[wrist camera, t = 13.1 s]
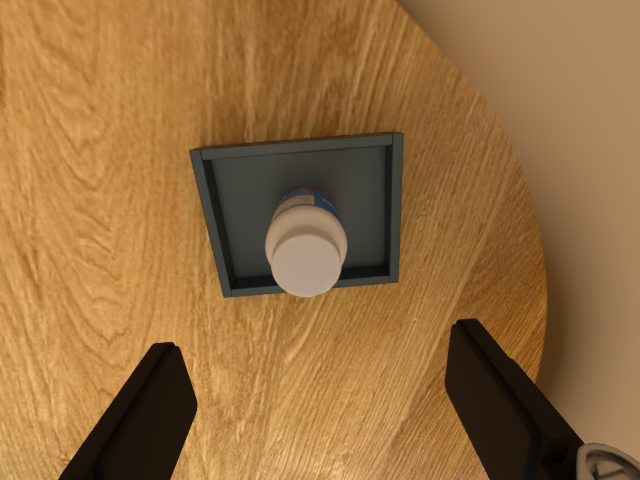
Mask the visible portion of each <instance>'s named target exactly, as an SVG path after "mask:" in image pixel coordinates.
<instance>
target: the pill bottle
mask: <svg viewBox="0 0 640 480" xmlns="http://www.w3.org/2000/svg"><path fill="white" fill-rule="evenodd" d="M265 250H266V256H267V259H268V261H269V263H270V265H271V269H272V274H273V277H274V279H275V281H276V282H277V284H278V285H279V286H280V287H281V288H282V289H283V290H285V291H286V292H288V293H290V294H292V295H296V296H300V297H313V296H317V295H320V294H322V293H324V292H326V291H328V290H329V289H330V288H331V287H332V286H333V285H334V284H335V283H336V281H337V280H338V278H339V276H340V273H341V266H342V264H343V262H344V260H345V257H346V252H347V239H346V234H345V231H344V228H343V226H342V223H341V220H340V217H339V215H338V212H337V209H336V207H335V205H334V203H333V201H332V200H331V199H330V198H329V197H328V196H327V195H326V194H325V193H323V192H322V191H320V190H317V189H314V188H298V189H295V190H292V191H291V192H289V193H287V194H286V195H285V196H284V197H283V198H282V199H281V200H280V202H279V203H278V205H277V207H276V210H275V213H274V215H273V218H272V221H271V224H270V227H269V230H268V233H267V237H266V242H265Z"/></svg>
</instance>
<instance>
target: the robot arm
mask: <svg viewBox="0 0 640 480" xmlns="http://www.w3.org/2000/svg"><path fill="white" fill-rule="evenodd" d="M445 388H446V392H447V394H448V396H449V398H450V400H451V402H452V404H453V406H454V408H455V410H456V412H457V414H458V416H459V418H460V420H461V422H462V424H463V426H464V428H465V430H466V433H467V435H468V437H469V439H470V441H471V443H472V445H473V447H474V449H475V451H476V453H477V455H478V457H479V459H480V461H481V463H482V465H483V467H484V469H485V471H486V473H487V475H488V477H489V479H490V480H640V463H639V462H638V461H636V460H635V459H633V458H632V457H631V456H629V455H627V454H625V453H624V452H622V451H620V450H618V449H616V448H613V447H610V446H607V445H605V444H599V443H588V444H584V442H583V441H582V440H581V439H580V438H579V436H578V435H577V434H576V433H575V432H574V430H573V429H572V428H571V427H570V426H569V424H568V423H567V422H566V421H565V420H564V419H563V417H561V415H560V414H559V413H558V411H557V410H556V409H555V408H554V407H553V405H552V404H551V403H550V402H549V401H548V400H547V398H546V397H545V396H544V395H543V394H542V392H541V391H540V390H539V389H538V388H537V387H536V385H535V384H534V383H533V382H532V380H531V379H530V378H529V377H528V376H527V375H526V373H525V372H524V371H523V370H522V369H521V367H520V366H519V365H518V364H517V363H516V362H515V361H514V360H513V359H511V358H509V357H508V356H507V355H506V353H505V352H504V351H503V350H502V349H501V347H500V346H499V345H498V344H497V342H496V341H495V340H494V339H493V338H492V336H491V335H490V334H489V333H488V332H487V330H486V329H485V328H484V327H483V326H482V324H481V323H480V322H479V321H478V320H477V319H475V318H473V319H460V320H457V321H456V324H453V325H452V327H451V334H450V342H449V350H448V358H447V367H446V375H445ZM196 412H197V399H196V396H195V393H194V390H193V387H192V384H191V381H190V378H189V375H188V372H187V369H186V365H185V362H184V359H183V356H182V353H181V350H180V348H179V347H178V346H175V344H174V343H173V342H165V343H155V344H153V345H152V346H151V347H150V348H149V350H148V351H147V353H146V354H145V356H144V357H143V358H142V360H141V361H140V363H139V364H138V366H137V367H136V368H135V370H134V371H133V373H132V374H131V376H130V377H129V378H128V380H127V381H126V383H125V384H124V386H123V387H122V388H121V390H120V391H119V393H118V394H117V396H116V397H115V398H114V400H113V401H112V403H111V404H110V406H109V407H108V408H107V410H106V411H105V413H104V414H103V416H102V417H101V418H100V420H99V421H98V423H97V424H96V426H95V427H94V428H93V430H92V431H91V433H90V434H89V436H88V437H87V438H86V440H85V441H84V443H83V444H82V446H81V447H80V448H79V450H78V451H77V453H76V454H75V456H74V457H73V458H72V460H71V461H70V463H69V464H68V466H67V467H66V468H65V470H64V471H63V473H62V474H61V475H60V478H59V479H58V480H170V479H171V476H172V474H173V471H174V469H175V466H176V463H177V461H178V458H179V456H180V453H181V451H182V448H183V445H184V443H185V440H186V438H187V435H188V433H189V430H190V428H191V425H192V422H193V420H194V417H195V415H196Z"/></svg>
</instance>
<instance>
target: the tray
mask: <svg viewBox="0 0 640 480" xmlns="http://www.w3.org/2000/svg"><path fill="white" fill-rule="evenodd" d="M189 152H190V157H191V161H192V165H193V169H194V174H195V178H196V182H197V186H198V191H199V195H200V199H201V203H202V208H203V212H204V216H205V220H206V225H207V229H208V233H209V237H210V242H211V246H212V250H213V254H214V259H215V263H216V267H217V271H218V276H219V280H220V284H221V288H222V293H223V297H224V298H227V297H240V296H251V295H263V294H274V293H285V292H286V291H285V290H283V289H282V288H281V287H280V286H279V285H278V284H277V282H276V281H275V279H274V277H273V274H272V269H271V265H270V263H269V261H268V259H267V256H266V250H265V242H266V237H267V233H268V230H269V227H270V224H271V221H272V218H273V215H274V213H275V210H276V207H277V205H278V203H279V202H280V200H281V199H282V198H283V197H284V196H285V195H286V194H287V193H289V192H291V191H292V190H295V189H298V188H314V189H317V190H320V191H322V192H323V193H325V194H326V195H327V196H328V197H329V198H330V199H331V200H332V201H333V203H334V205H335V207H336V209H337V212H338V215H339V217H340V220H341V223H342V226H343V228H344V231H345V234H346V239H347V252H346V257H345V260H344V262H343V264H342V266H341V273H340V276H339V278H338V280H337V281H336V283H335V284H334V285H333V286H332V287H331V288H341V287H352V286H364V285H375V284H386V283H397V282H398V279H399V250H400V221H401V192H402V163H403V133H400V132H381V133H369V134H356V135H344V136H331V137H319V138H306V139H294V140H281V141H269V142H256V143H244V144H231V145H219V146H207V147H199V148H196V149H192V150H189Z"/></svg>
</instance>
